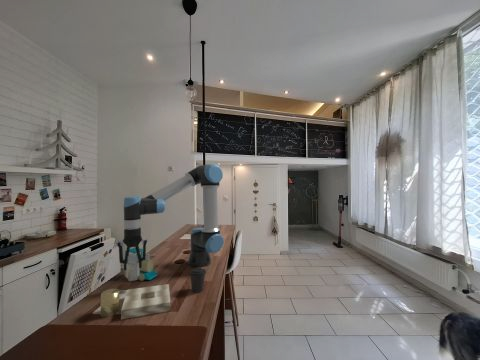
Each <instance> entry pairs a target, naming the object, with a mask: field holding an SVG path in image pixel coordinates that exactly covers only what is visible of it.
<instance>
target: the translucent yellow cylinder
mask: <svg viewBox="0 0 480 360" xmlns="http://www.w3.org/2000/svg"><path fill="white" fill-rule="evenodd" d="M118 311H119V312H120V289H119V288H111V289H106V290H104V291H102V292H101V293H100V313H99V315H100V316H101V317H102V318H109V317H113V316H115V315H117V314H118V313H119V312H118ZM117 312H118V313H117ZM116 313H117V314H116Z"/></svg>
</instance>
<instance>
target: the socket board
mask: <svg viewBox="0 0 480 360" xmlns="http://www.w3.org/2000/svg"><path fill="white" fill-rule="evenodd" d="M170 292H171V291H170V284H169V283H167V284H166V283H165V284H159V285H158V284H157V285H151V286H145V287H139V288H129V289H127V290H126V293H125V297H124V299H123V304H122V307H121V311H120V316H121V317H120V321H121V320H127V319H132V318H137V317H143V316H149V315H154V314H158V313H159V314H160V313H165V312H170V311H171V293H170Z"/></svg>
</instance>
